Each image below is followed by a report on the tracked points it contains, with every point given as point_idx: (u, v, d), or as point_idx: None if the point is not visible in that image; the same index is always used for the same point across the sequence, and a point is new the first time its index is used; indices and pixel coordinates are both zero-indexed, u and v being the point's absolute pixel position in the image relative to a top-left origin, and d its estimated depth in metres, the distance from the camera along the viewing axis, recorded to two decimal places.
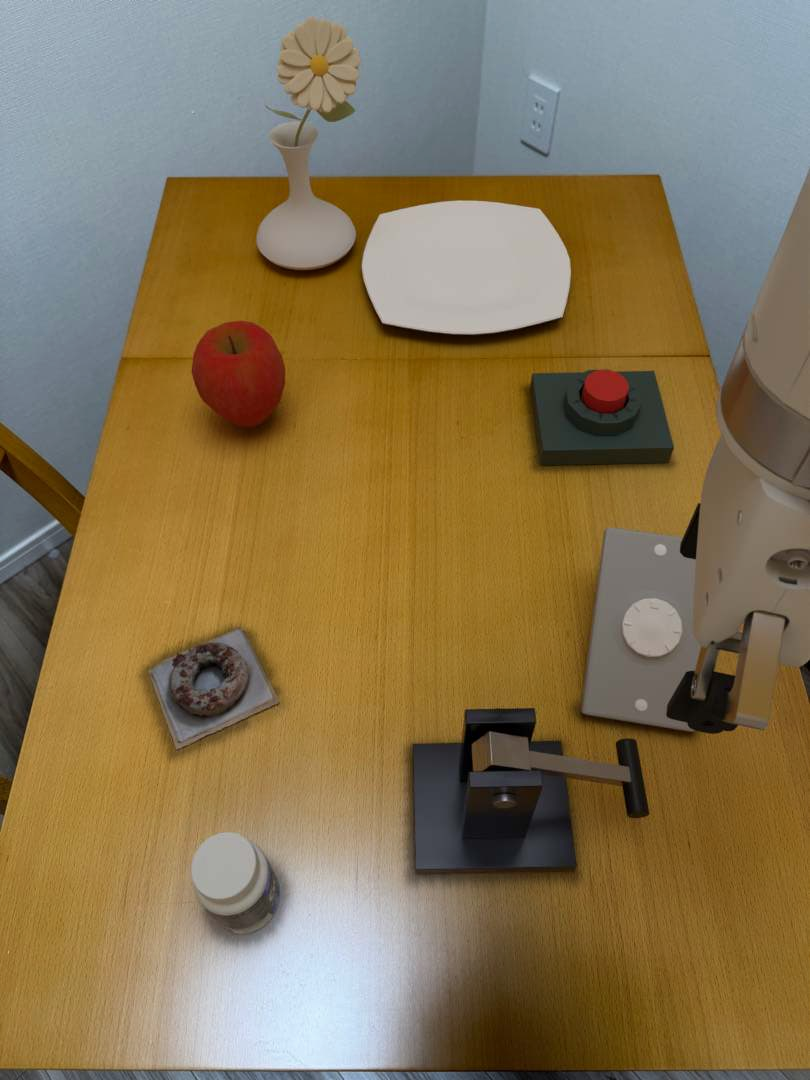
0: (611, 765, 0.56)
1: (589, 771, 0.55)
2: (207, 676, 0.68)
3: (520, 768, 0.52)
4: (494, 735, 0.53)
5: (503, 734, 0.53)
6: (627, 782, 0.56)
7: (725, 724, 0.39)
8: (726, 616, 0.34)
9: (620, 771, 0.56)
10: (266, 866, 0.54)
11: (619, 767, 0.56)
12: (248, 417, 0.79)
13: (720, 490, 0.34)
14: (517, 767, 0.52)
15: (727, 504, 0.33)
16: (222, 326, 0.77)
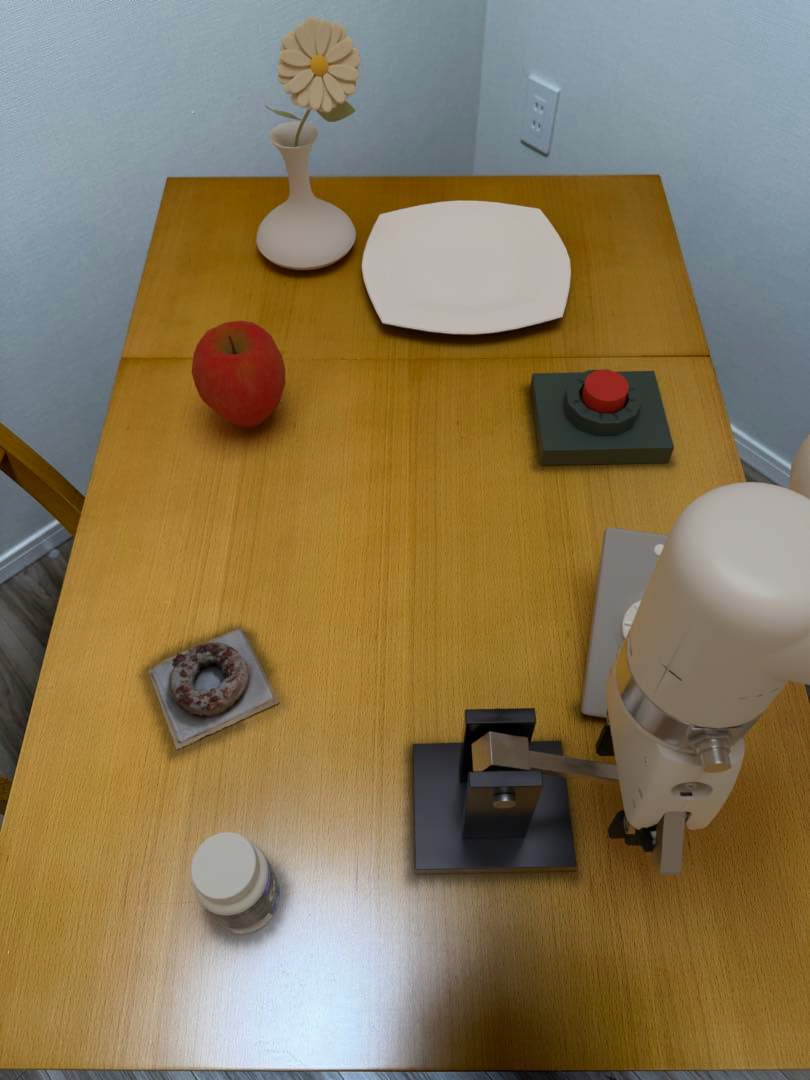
0: (611, 765, 0.56)
1: (589, 771, 0.55)
2: (207, 676, 0.68)
3: (520, 768, 0.52)
4: (494, 735, 0.53)
5: (503, 734, 0.53)
6: None
7: None
8: (650, 816, 0.48)
9: None
10: (266, 866, 0.54)
11: None
12: (248, 417, 0.79)
13: (626, 727, 0.48)
14: (517, 767, 0.52)
15: (634, 744, 0.47)
16: (222, 326, 0.77)
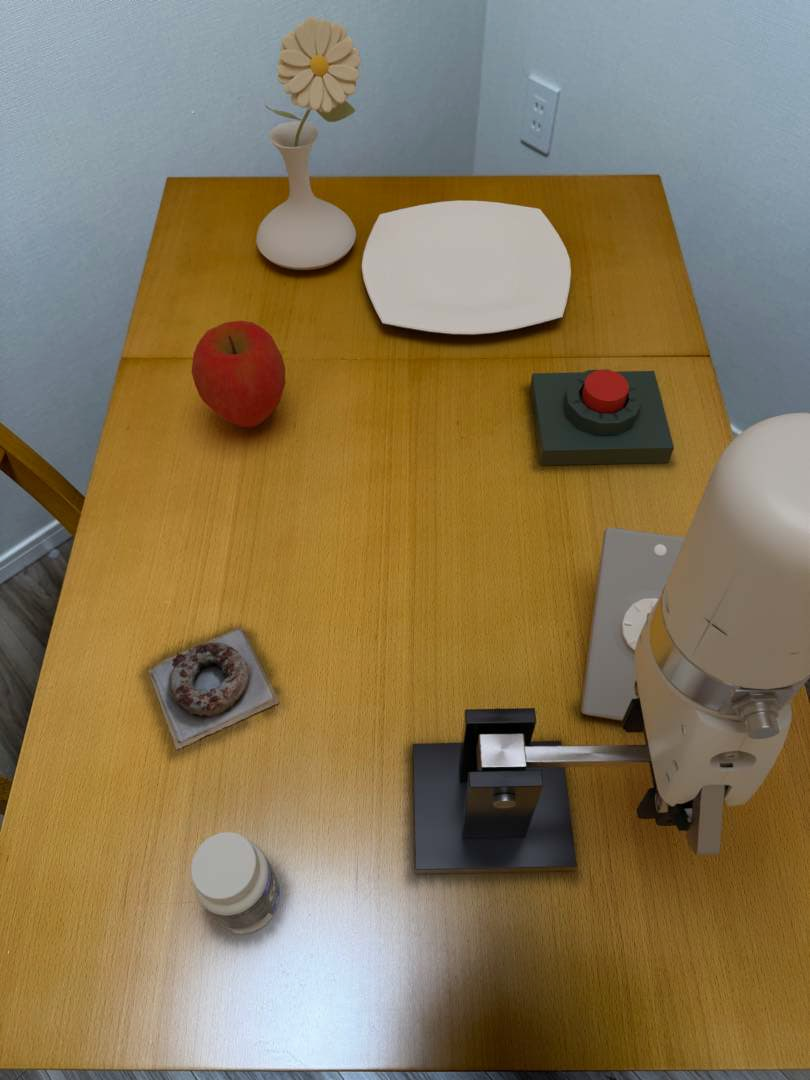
0: (629, 746, 0.54)
1: (602, 757, 0.53)
2: (207, 676, 0.68)
3: (514, 766, 0.52)
4: (484, 737, 0.53)
5: (495, 734, 0.53)
6: (650, 761, 0.53)
7: None
8: (686, 790, 0.44)
9: (641, 751, 0.53)
10: (266, 866, 0.54)
11: (640, 747, 0.53)
12: (248, 417, 0.79)
13: (659, 695, 0.45)
14: (510, 766, 0.52)
15: (669, 712, 0.43)
16: (222, 326, 0.77)
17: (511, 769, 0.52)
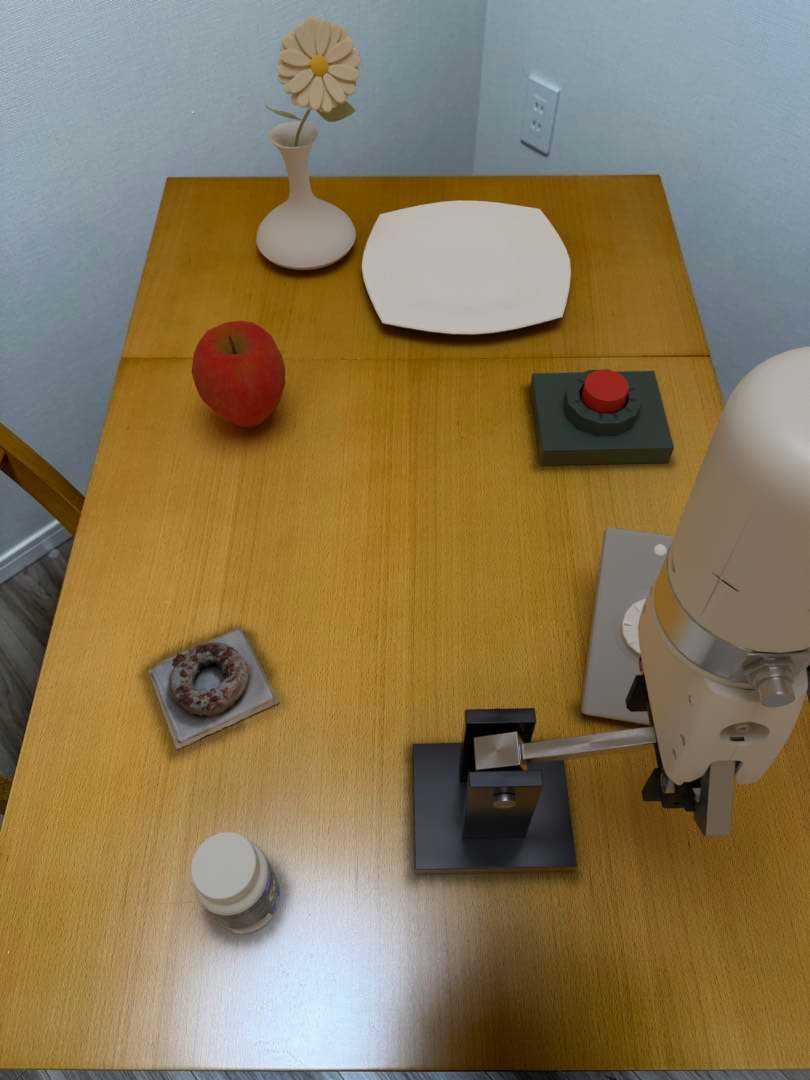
0: (629, 730, 0.51)
1: (601, 745, 0.51)
2: (207, 676, 0.68)
3: (507, 765, 0.52)
4: (479, 739, 0.53)
5: (489, 736, 0.53)
6: (652, 744, 0.51)
7: None
8: (694, 767, 0.41)
9: (641, 734, 0.51)
10: (266, 866, 0.54)
11: (640, 730, 0.51)
12: (248, 417, 0.79)
13: (665, 665, 0.42)
14: (504, 765, 0.52)
15: (676, 683, 0.40)
16: (222, 326, 0.77)
17: (507, 768, 0.52)
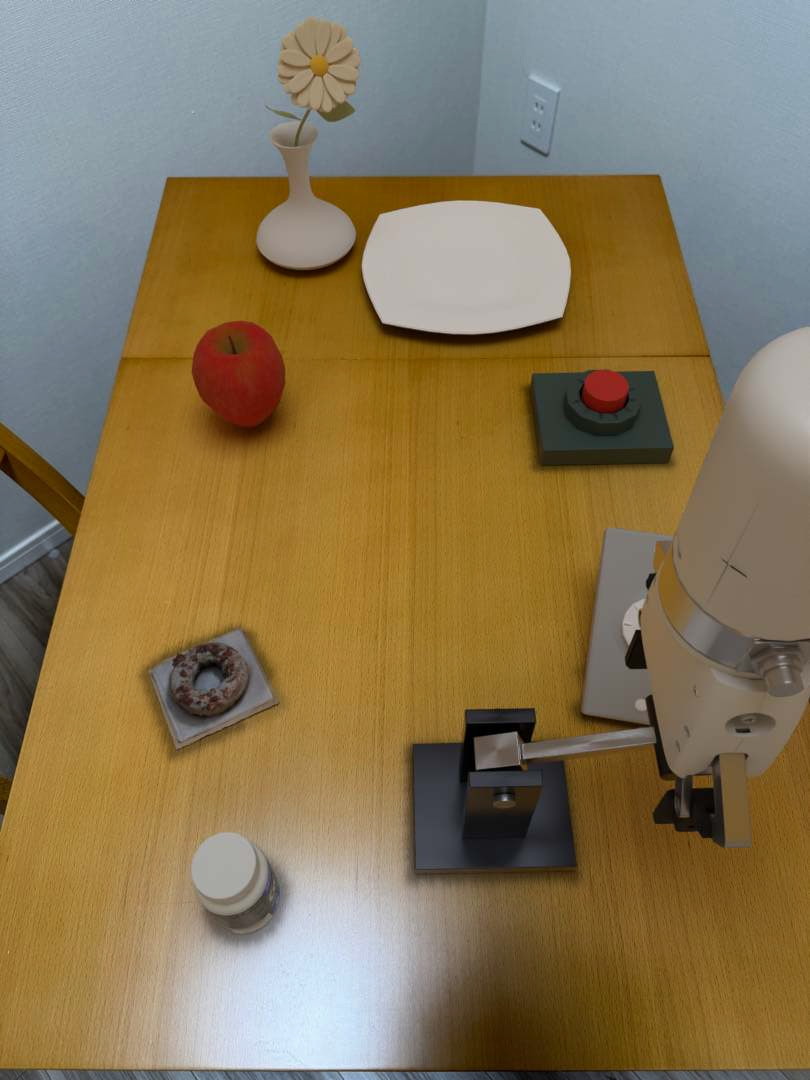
0: (629, 731, 0.51)
1: (601, 745, 0.51)
2: (207, 676, 0.68)
3: (507, 765, 0.52)
4: (479, 739, 0.53)
5: (489, 736, 0.53)
6: (652, 744, 0.51)
7: None
8: (698, 759, 0.41)
9: (642, 734, 0.51)
10: (266, 866, 0.54)
11: (640, 730, 0.51)
12: (248, 417, 0.79)
13: (669, 656, 0.41)
14: (504, 765, 0.52)
15: (680, 674, 0.40)
16: (222, 326, 0.77)
17: (507, 768, 0.52)
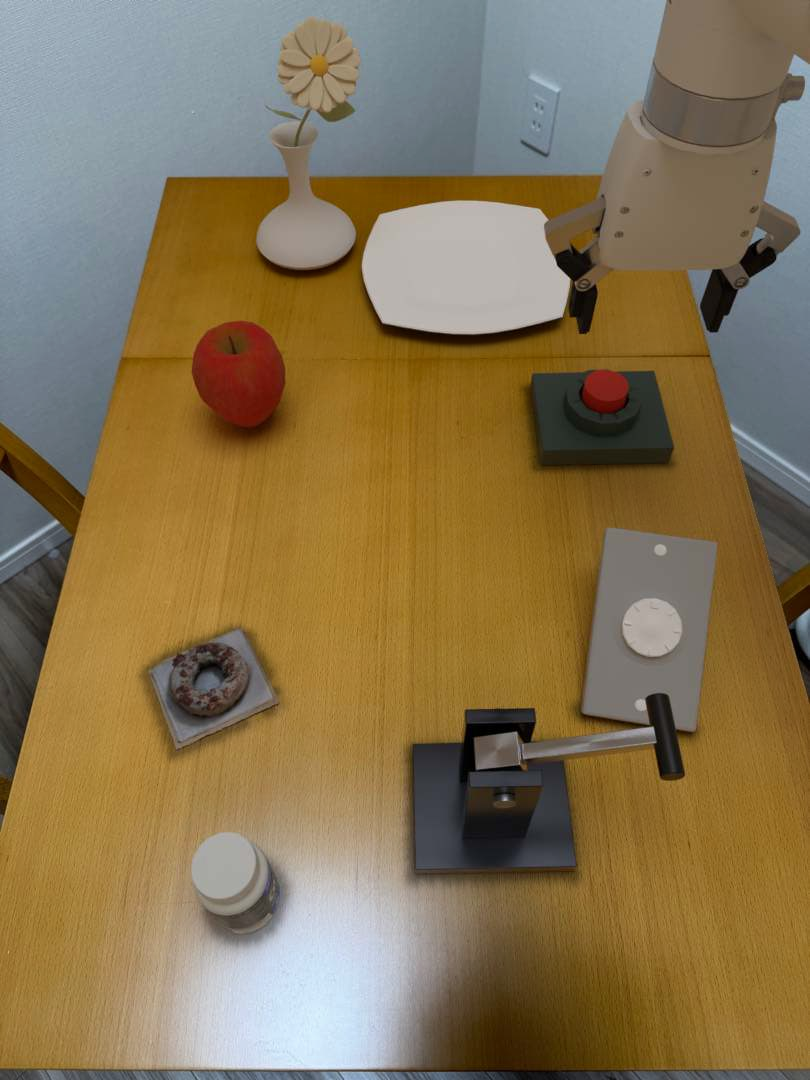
0: (629, 731, 0.51)
1: (601, 745, 0.51)
2: (207, 676, 0.68)
3: (507, 765, 0.52)
4: (479, 739, 0.53)
5: (489, 736, 0.53)
6: (652, 744, 0.51)
7: None
8: None
9: (642, 734, 0.51)
10: (266, 866, 0.54)
11: (640, 730, 0.51)
12: (248, 417, 0.79)
13: (705, 200, 0.54)
14: (504, 765, 0.52)
15: (730, 187, 0.53)
16: (222, 326, 0.77)
17: (507, 768, 0.52)
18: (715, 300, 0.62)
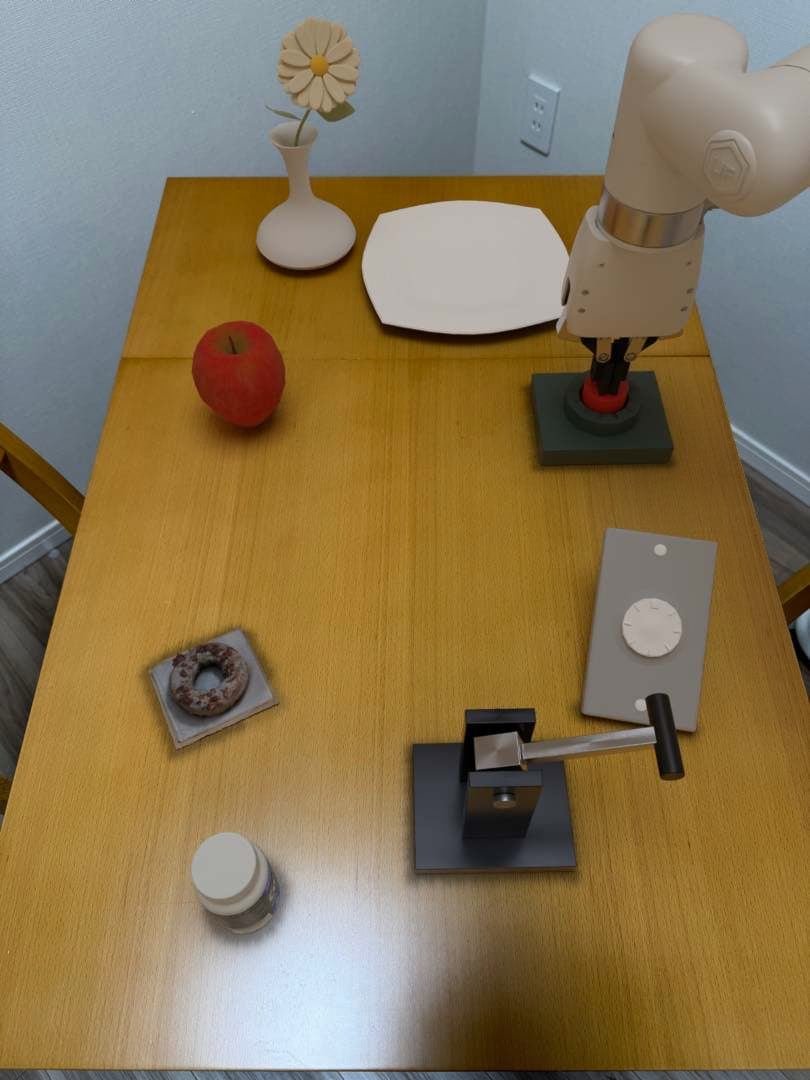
0: (629, 731, 0.51)
1: (601, 745, 0.51)
2: (207, 676, 0.68)
3: (507, 765, 0.52)
4: (479, 739, 0.53)
5: (489, 736, 0.53)
6: (652, 744, 0.51)
7: None
8: None
9: (642, 734, 0.51)
10: (266, 866, 0.54)
11: (640, 730, 0.51)
12: (248, 417, 0.79)
13: (649, 285, 0.66)
14: (504, 765, 0.52)
15: (669, 275, 0.66)
16: (222, 326, 0.77)
17: (507, 768, 0.52)
18: (612, 369, 0.76)
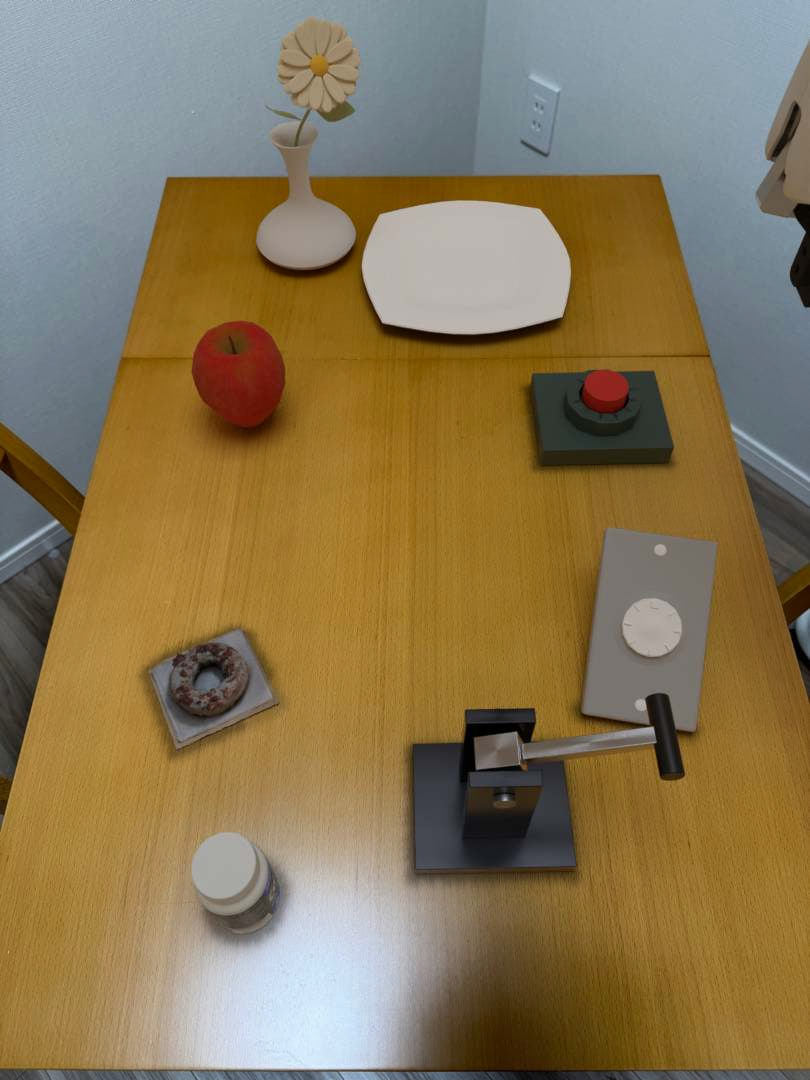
0: (629, 731, 0.51)
1: (601, 745, 0.51)
2: (207, 676, 0.68)
3: (507, 765, 0.52)
4: (479, 739, 0.53)
5: (489, 736, 0.53)
6: (652, 744, 0.51)
7: None
8: None
9: (642, 734, 0.51)
10: (266, 866, 0.54)
11: (640, 730, 0.51)
12: (248, 417, 0.79)
13: None
14: (504, 765, 0.52)
15: None
16: (222, 326, 0.77)
17: (507, 768, 0.52)
18: None
